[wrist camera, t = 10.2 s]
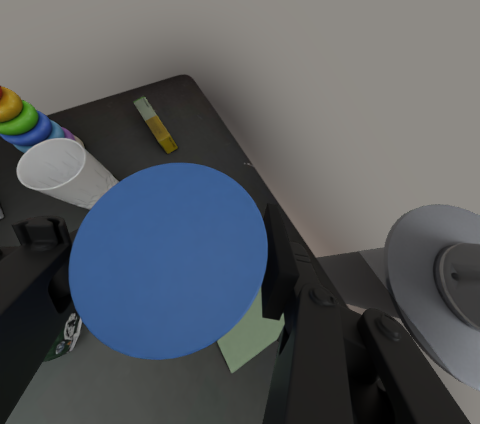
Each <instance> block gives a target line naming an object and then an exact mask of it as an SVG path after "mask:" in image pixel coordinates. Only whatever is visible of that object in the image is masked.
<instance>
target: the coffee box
mask: <svg viewBox="0 0 480 424" xmlns="http://www.w3.org/2000/svg"><path fill="white" fill-rule="evenodd" d="M2 218H4V215H3V212H2V210H1V206H0V219H2Z"/></svg>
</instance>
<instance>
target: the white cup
mask: <svg viewBox="0 0 480 424" xmlns="http://www.w3.org/2000/svg"><path fill="white" fill-rule="evenodd" d="M17 176H18V179H19V181H20V182H21V183H22V184H23V185H24V186H26V187H28V188H30V189H33V190H36V191H38V192H41V193H44V194H47V195H49V196H52V197H55V198H57V199H60V200H62V201H65V202H68V203H71V204H74V205H77V206H80V207H83V208H86V209H89V210H90V209H91V208H92V207H93V206H94V204H95V203H96V202H97V201H98V200H99V199H100V198H101V197H102V196H103V195H104V194H105V193H106V192H107V191H108V190H109V189H110V188H112V187H113V186H114V185H116V184H117V183H118V182H119V181H118V180H117V179H116V178H114V177H113V175H112V174H111V173H110V172H109V171H108V170H107V169H106V168H105V167H104V166H103V165H102V164H101V163H100V162H99V161H98V160H97V159H96V158H94V157H93V156H92V155H91V154H90V153H89V152H88V151H87V150H86V149H85V148H84V147H83V146H82V145H81V144H79V143H78V142H76V141H74V140H72V139H68V138H54V139H49V140H45V141H43V142H40V143H38V144H36V145H34V146H33V147H31V148H30V149H29V150H28V151H27V152H26V153H25V154H24V155H23V156H22V157H21V159H20V161H19V163H18V165H17Z"/></svg>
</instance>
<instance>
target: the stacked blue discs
mask: <svg viewBox="0 0 480 424" xmlns="http://www.w3.org/2000/svg"><path fill="white" fill-rule="evenodd" d="M267 257H268V242H267V234H266V229H265V225H264V221H263V219H262V216H261V214H260V211H259V209H258V208H257V206H256V204H255V202H254V201H253V199H252V198H251V197H250V195H249V194H248V193H247V192H246V191H245V190H244V188H243V187H242V186H241V185H239V184H238V183H237V182H236V181H235V180H233V179H232V178H230V177H229V176H227V175H226V174H224V173H222V172H220V171H218V170H215V169H213V168H210V167H207V166H203V165H198V164H192V163H168V164H161V165H157V166H152V167H149V168H146V169H143V170H141V171H138V172H136V173H134V174H132V175H130V176H128V177H126V178H125V179H123V180H121V181H120V182H118V183H117V184H116V185H114V186H113V187H112V188H110V189H109V190H108V191H107V192H106V193H105V194H104V195H103V196H102V197H101V198H100V199H99V200H98V201H97V202H96V203H95V204H94V206H93V207H92V208H91V209H90V211H89V212H88V214H87V215H86V217H85V218H84V220H83V222H82V224H81V226H80V227H79V229H78V232H77V234H76V237H75V239H74V242H73V246H72V250H71V254H70V261H69V286H70V292H71V297H72V300H73V303H74V306H75V309H76V311H77V313H78V314H79V316H80V318H81V320H82V322H83V323H84V324H85V326H86V327H87V328H88V329H89V331H90V332H91V333H92V334H93V335H94V336H95V337H96V338H97V339H99V340H100V341H101V342H102V343H104V344H105V345H107V346H108V347H110V348H112V349H113V350H115V351H118V352H120V353H123V354H125V355H128V356H132V357H136V358H141V359H153V360H162V359H172V358H177V357H181V356H185V355H189V354H192V353H194V352H197V351H199V350H201V349H204V348H206V347H207V346H209V345H211V344H212V343H214V342H216V341H217V340H219V339H220V338H221V337H223V336H224V335H225V334H226V333H228V332H229V331H230V330H231V329H232V328H233V327H234V326H235V325H236V324H237V323H238V322H239V321H240V320H241V319H242V318H243V316H244V315H245V314H246V312H247V311H248V310H249V308H250V307H251V305H252V303H253V301H254V300H255V298H256V296H257V294H258V292H259V289H260V287H261V284H262V282H263V278H264V274H265V271H266V265H267Z"/></svg>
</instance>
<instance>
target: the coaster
mask: <svg viewBox="0 0 480 424" xmlns="http://www.w3.org/2000/svg"><path fill="white" fill-rule="evenodd" d="M284 324H285V321H284V315H283V314H282V316H281V318H280V321H278V320H272V319H267V318H262V297H261V287H260V289H259V292H258V294H257V296H256V298H255V300H254V301H253V303H252V305H251V307H250V308H249V310H248V311H247V312H246V314H245V315H244V316H243V318H242V319H241V320H240V321H239V322H238V323H237V324H236V325H235V326H234V327H233V328H232V329H231V330H230V331H229V332H228V333H226V334H225V335H224V336H223V337H221V338H220V339H219V340H217V343H218V345H219V347H220V349H221V352H222V354H223V356H224V358H225V360H226V362H227V365H228V367H229V369H230V371H231V373H233V372H234V371H236V370H237V369H238V368H240V367H241V366H242V365H244V364H245V363H246V362H248V361H249V360H250V359H251V358H253V357H254V356H255V355H257V354H258V353H259V352H261V351H262V350H263V349H265V348H266V347H267V346H268V345H270V344H271V343H272V342H274V341H275V340H276V339H278V337H279V335H280V333H281V331H282V328H283V326H284Z"/></svg>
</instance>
